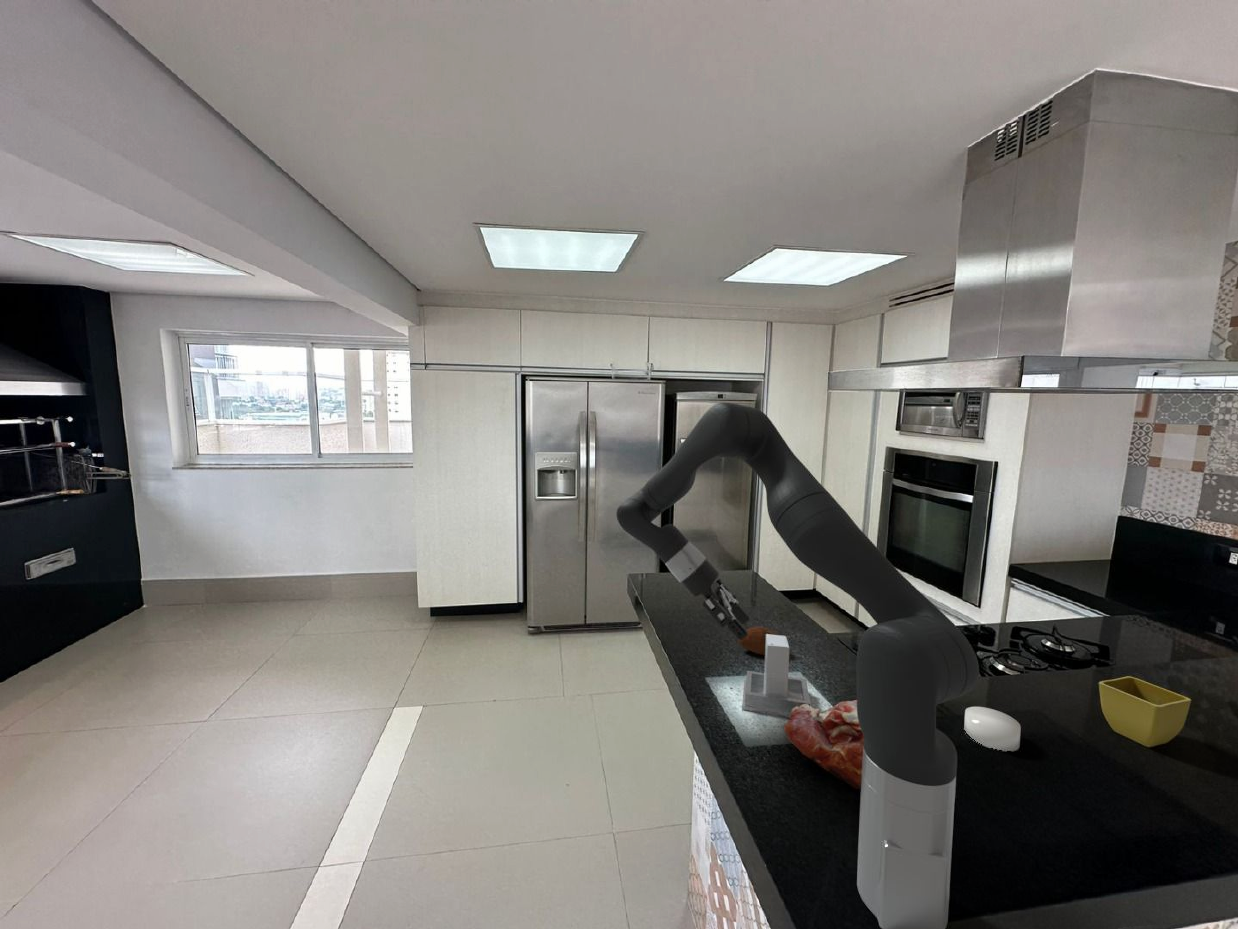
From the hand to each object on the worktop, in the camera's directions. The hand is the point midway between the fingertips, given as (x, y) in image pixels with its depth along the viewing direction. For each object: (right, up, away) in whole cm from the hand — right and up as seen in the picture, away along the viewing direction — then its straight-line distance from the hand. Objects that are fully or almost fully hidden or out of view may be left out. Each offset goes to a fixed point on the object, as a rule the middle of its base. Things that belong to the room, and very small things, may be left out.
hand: (745, 628), depth 102 cm
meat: (+13, -16, -17) cm, 27 cm away
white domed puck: (+41, -16, -13) cm, 46 cm away
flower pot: (+68, -16, -12) cm, 71 cm away
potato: (+9, -13, +21) cm, 26 cm away
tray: (+6, -14, -1) cm, 15 cm away
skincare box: (+6, -14, -1) cm, 15 cm away
